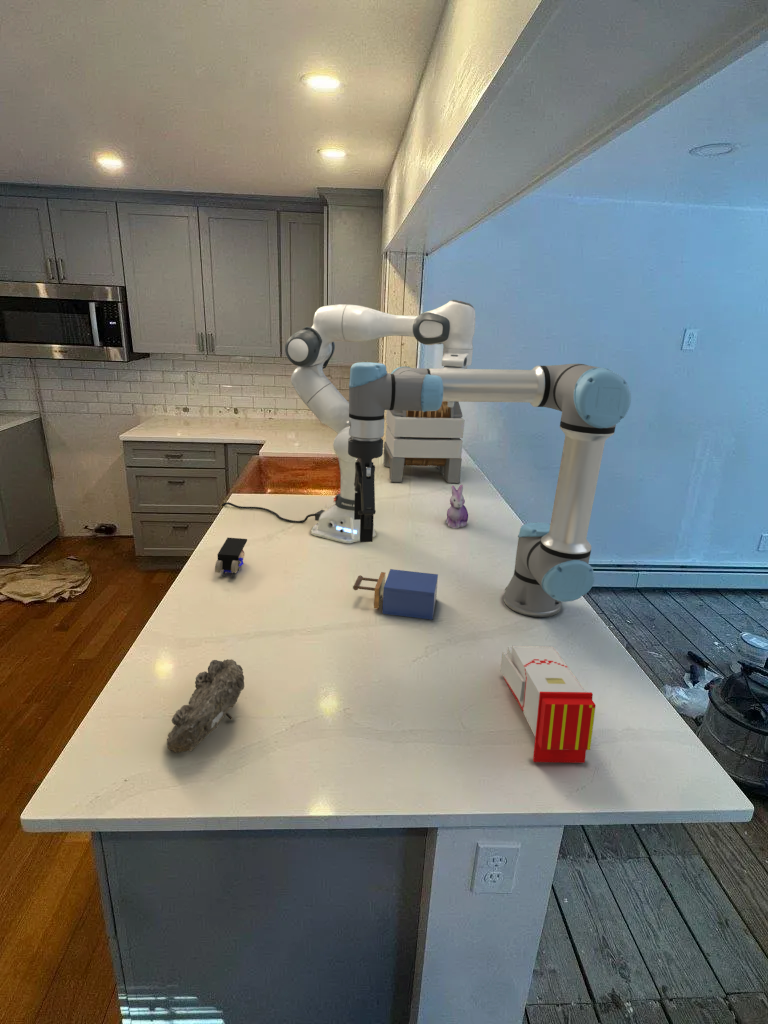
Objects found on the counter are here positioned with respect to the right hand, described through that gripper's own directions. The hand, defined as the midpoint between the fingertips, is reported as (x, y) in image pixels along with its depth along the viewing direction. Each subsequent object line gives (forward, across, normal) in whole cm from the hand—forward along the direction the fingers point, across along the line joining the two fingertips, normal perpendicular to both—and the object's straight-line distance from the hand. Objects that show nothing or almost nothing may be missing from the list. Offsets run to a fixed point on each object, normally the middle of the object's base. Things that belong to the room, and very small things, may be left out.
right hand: (362, 529), depth 128 cm
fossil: (+27, +27, -31) cm, 49 cm away
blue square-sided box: (+27, -13, +15) cm, 34 cm away
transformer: (+27, -141, +43) cm, 150 cm away
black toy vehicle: (+27, -38, -34) cm, 58 cm away
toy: (+27, +31, +33) cm, 53 cm away
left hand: (-20, -52, +33) cm, 64 cm away
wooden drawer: (+26, -15, +9) cm, 32 cm away
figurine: (+27, -72, +44) cm, 89 cm away
